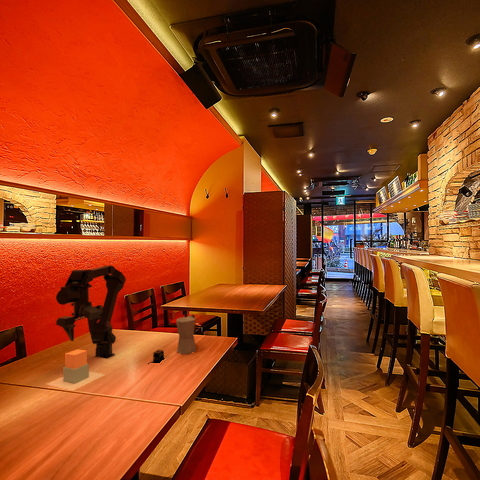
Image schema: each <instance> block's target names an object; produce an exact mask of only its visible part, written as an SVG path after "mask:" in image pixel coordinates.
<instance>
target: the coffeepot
mask: <svg viewBox="0 0 480 480" xmlns="http://www.w3.org/2000/svg"><path fill="white" fill-rule="evenodd" d="M175 322H176V323H175V324H176V328H177V332H178V333H177V334H178V341H177V342H178V343H177V351H176V353H177V352H178V354H179V353H181V354H180V355H189V354H188V353H191V354H193V353H192V352H194V353H196V351H197V347H196V342H195V336H194V334H195V324H196V316H195V315H194V314H191V315H189V316H188V312H184V316H183V317H179V318H177V319H176V321H175Z"/></svg>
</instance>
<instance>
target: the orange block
mask: <svg viewBox="0 0 480 480" xmlns="http://www.w3.org/2000/svg"><path fill="white" fill-rule="evenodd" d="M64 354H65V355H64V356H65V358H64V360H65V366H64V367H67V368H72V369H77V368H79V367H81V366H84V365H86V364H88V363H87V362H88V358H87V357H88V355H87V354H88V353H87V350H83V349H74V350H71V351H68V352H66V353H64Z"/></svg>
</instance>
